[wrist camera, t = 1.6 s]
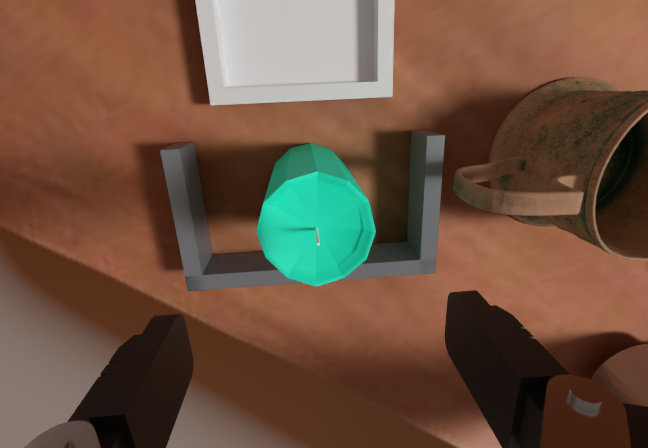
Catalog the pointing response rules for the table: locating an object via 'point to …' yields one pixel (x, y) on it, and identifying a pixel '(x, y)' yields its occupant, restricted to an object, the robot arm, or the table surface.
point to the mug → (571, 165)
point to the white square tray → (296, 49)
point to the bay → (254, 266)
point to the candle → (314, 217)
